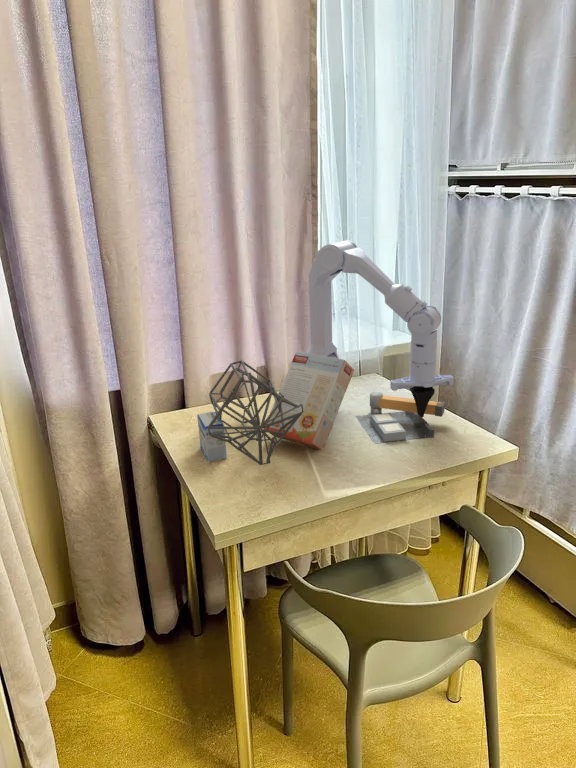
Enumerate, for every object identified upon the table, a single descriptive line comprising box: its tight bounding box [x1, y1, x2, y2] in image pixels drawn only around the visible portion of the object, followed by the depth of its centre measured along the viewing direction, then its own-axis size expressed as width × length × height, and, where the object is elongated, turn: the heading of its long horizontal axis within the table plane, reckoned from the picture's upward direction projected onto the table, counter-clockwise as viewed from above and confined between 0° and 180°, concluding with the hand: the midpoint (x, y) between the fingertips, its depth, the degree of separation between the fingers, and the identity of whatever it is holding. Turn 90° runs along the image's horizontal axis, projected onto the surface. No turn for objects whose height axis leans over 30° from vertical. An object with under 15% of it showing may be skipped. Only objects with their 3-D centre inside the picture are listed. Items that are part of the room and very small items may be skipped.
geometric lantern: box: [208, 360, 303, 466], centre depth 124 cm, size 16×16×35 cm
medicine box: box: [197, 411, 228, 463], centre depth 123 cm, size 8×4×9 cm, turn 21°
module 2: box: [378, 423, 406, 442], centre depth 126 cm, size 5×5×2 cm
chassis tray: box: [355, 407, 435, 445], centre depth 132 cm, size 14×17×4 cm
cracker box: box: [263, 350, 355, 450], centre depth 127 cm, size 14×6×21 cm
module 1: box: [370, 412, 397, 431], centre depth 132 cm, size 5×5×2 cm
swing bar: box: [369, 391, 446, 417], centre depth 133 cm, size 18×3×3 cm, turn 64°
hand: (420, 415), depth 130 cm, fingers closed
